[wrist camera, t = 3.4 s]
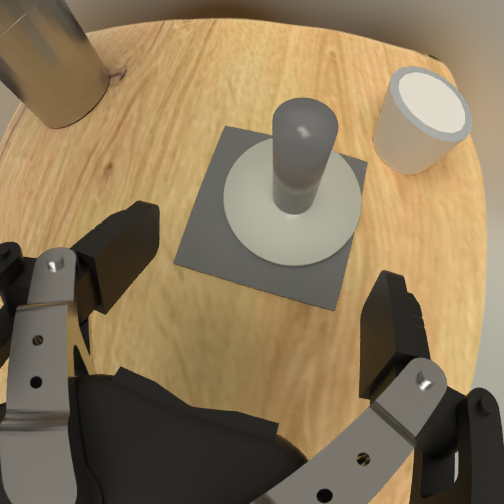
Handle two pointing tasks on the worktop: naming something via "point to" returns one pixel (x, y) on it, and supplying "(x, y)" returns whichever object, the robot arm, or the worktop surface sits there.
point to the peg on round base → (294, 189)
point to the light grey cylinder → (419, 120)
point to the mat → (235, 254)
